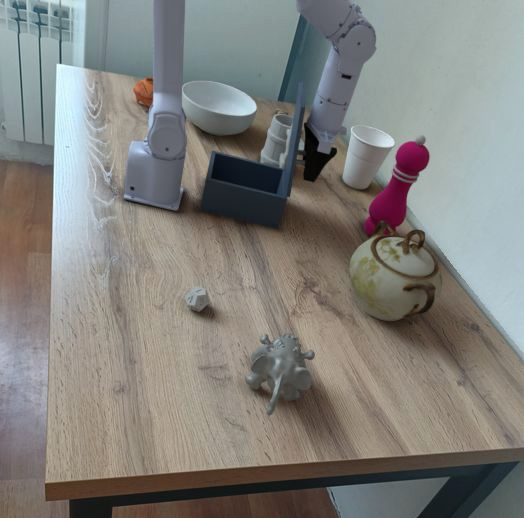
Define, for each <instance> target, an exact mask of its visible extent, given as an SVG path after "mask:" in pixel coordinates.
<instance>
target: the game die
mask: <svg viewBox="0 0 524 518" xmlns="http://www.w3.org/2000/svg"><path fill="white" fill-rule="evenodd" d="M184 298H185V302H186V306H187V307H188V309H189V310H190V311H193V312H197V313H200V312H201V311H203V309H204V308H205V307H207V306H208V304H209V303H210V301H211V300H210V298H209V295H208V292H207V289H206V287H205V288H204V287H201V286H198V285H194V286H193V288H192V289H191V290H190V291H189V292H188V293H186V294H185V295H184Z"/></svg>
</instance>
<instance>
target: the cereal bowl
mask: <svg viewBox="0 0 524 518" xmlns="http://www.w3.org/2000/svg"><path fill="white" fill-rule="evenodd" d="M182 108H183V110H184V112H185V116H186V119H188V121H190V122H191V123H192V124H193V125H195V126H196V127H198V128H199V129H200V130H202V131H203V132H205V133H207V134H208V135H209V134H210V135H214V136H221V137H222V136H223V137H224V136H229V135H231V136H232V135H237V134H240V133H243V132H244V131H246V130H247V129H249V128H250V127H251V125H252V124H253V122H254V120H255V117H256V115H257V111H258V105H257V103H256V101H255V100H254V99H253V98H252V97H251V96H249V94H247V93H245V92H244V91H242V90H240V89H238V88H236V87H233V86H231V85H228V84H226V83H225V84H224V83H221V82H217V81H210V80H192V81H189V82H185V83H184V84H182Z"/></svg>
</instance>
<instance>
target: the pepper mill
mask: <svg viewBox="0 0 524 518" xmlns="http://www.w3.org/2000/svg"><path fill="white" fill-rule="evenodd" d="M426 139H427V138H426V137H425V136H424V135H423V134H419V135H417V136H416V137H415V139H414V140H410V141H406V142H404V143H403V144H401V145H399V147H398V148H397V150H396V153H395V156H394V157H395V163H394V164H393V166H392V169H391V172H390V174H391V177H390V180H389V182H388V184H387V185H386V187H384V188H383V190H382V191H381V192H379V194H377V195H376V196H375V197H374V198H373V200H372V201H371V203H370V204H369V207H368V215H369V216H367V218H366V219H365V221H364V224H363V229H364V232H366V234H368V236H370V237H372V236H373V230H374V228H375V226H376V224H377V223H378V222H380V221H386V222H387V223H388V224H389V225H390V227H391V228H392V229H393V230H394V231H395V232H396V233H397V227H399V226H401V225H403V223H404V221H405V219H406V216H407V211H408V208H407V207H408V206H407V205H408V203H407V202H408V194H409V192H410V189H411V187H412V186H413V184H414V183H417V182H418V178H419V177H420V172H423V171H424V170H425V169H426V168H427V167H428V165H429V162H430V157H431V156H430V155H431V154H430V151H429V149H428V148H427V147H426V146H425V145H424V144H425V143H426V141H427V140H426ZM380 230H381V229H380ZM383 235H390V233H389V232H388V230H386V231H385V233H384V234H383Z"/></svg>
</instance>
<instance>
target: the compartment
mask: <svg viewBox="0 0 524 518" xmlns="http://www.w3.org/2000/svg"><path fill="white" fill-rule="evenodd" d="M204 182H205V183H204V186H203V192H202V196H201V202H200V208H199V212H204V213H208V214H212V215H215V216H220V217H225V218H228V219H232V220H237V221H242V222H245V223H250V224H254V225H259V226H262V227H263V226H264V227H266V228H272V229H276V230H279V228H280V224H281V222H282V219H283V215H284V212H285V209H286V205H287V202H288V197H286V169H284V168H280V167H276V166H272V165H268V164H264V163H261V161H260V162H259V161H256V160H252V159H249V158H244V157H240V156H237V155H231V154H229V153H223V152H220V151H216V150H213V149H212V150H211V153H210V157H209V163H208V166H207V172H206V175H205V181H204Z"/></svg>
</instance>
